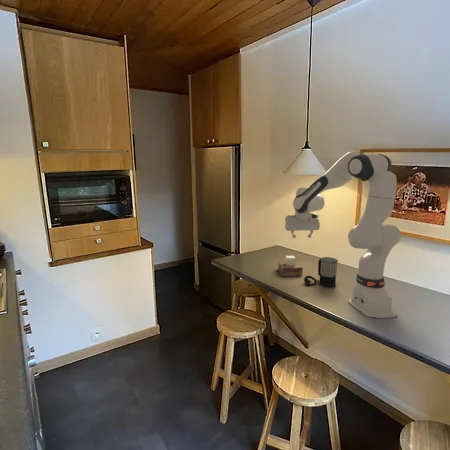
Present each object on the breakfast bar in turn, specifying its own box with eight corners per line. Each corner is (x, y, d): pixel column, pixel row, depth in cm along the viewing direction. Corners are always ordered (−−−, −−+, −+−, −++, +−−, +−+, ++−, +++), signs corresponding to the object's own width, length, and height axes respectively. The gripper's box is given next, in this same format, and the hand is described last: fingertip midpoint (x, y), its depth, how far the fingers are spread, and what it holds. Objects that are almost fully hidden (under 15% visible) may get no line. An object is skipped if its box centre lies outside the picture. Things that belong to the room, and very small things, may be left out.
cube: (295, 266, 192) (295, 258, 191) (287, 266, 192) (287, 258, 191) (293, 263, 197) (293, 255, 196) (285, 263, 196) (285, 255, 195)
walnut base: (302, 275, 190) (302, 267, 189) (282, 276, 189) (282, 268, 188) (296, 268, 201) (297, 261, 200) (278, 269, 201) (278, 261, 200)
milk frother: (339, 286, 175) (341, 260, 172) (319, 291, 167) (320, 265, 164) (320, 277, 187) (322, 253, 184) (300, 282, 179) (301, 257, 176)
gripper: (286, 216, 183) (285, 239, 185) (321, 215, 184) (320, 238, 186) (283, 214, 189) (283, 236, 192) (317, 213, 190) (316, 236, 193)
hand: (301, 237), depth 189 cm, fingers open, 8 cm apart
